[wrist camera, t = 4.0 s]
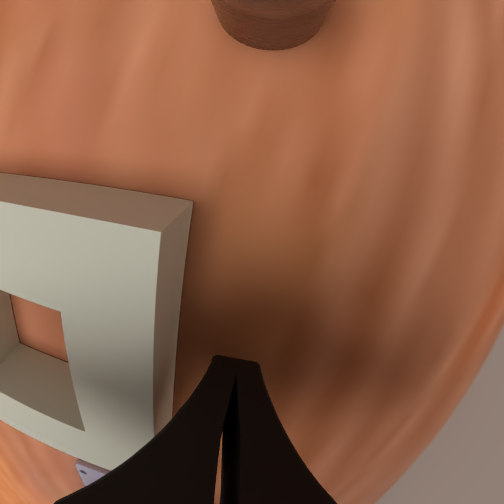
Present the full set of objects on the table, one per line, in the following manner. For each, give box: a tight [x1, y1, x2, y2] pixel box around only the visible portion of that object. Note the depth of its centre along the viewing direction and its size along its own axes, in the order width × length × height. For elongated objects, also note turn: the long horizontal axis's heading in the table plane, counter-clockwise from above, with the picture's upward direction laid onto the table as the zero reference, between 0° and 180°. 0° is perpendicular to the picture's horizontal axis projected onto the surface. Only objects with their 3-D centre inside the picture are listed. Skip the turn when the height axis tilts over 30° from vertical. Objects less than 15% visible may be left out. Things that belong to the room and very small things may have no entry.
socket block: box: [0, 173, 194, 471], centre depth 9 cm, size 10×10×3 cm
